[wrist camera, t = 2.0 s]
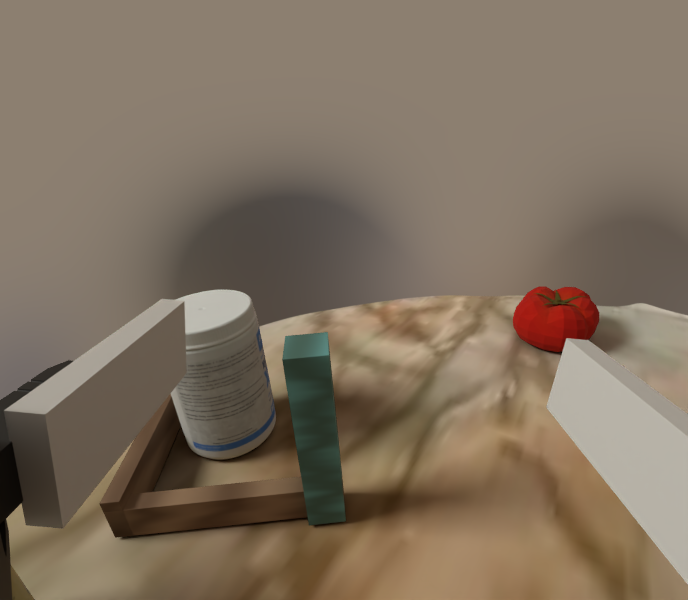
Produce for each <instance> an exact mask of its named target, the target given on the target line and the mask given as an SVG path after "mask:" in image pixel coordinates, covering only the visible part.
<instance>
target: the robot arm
mask: <svg viewBox="0 0 688 600" xmlns="http://www.w3.org/2000/svg"><path fill="white" fill-rule="evenodd" d="M186 373H187V369H186V335H185V301H178V300H167V299H161V300H160V301H158V302H157V303H156V304H154V305H153V306H151V307H150V308H148V309H147V310H146V311H144V312H143V313H141V314H140V315H138V316H137V317H136V318H134V319H133V320H132V321H130V322H129V323H127V324H126V325H124V326H123V327H121V328H120V329H119V330H118V331H116V332H114V333H113V334H112V335H110V336H109V337H108V338H106V339H104V340H103V341H102V342H100V343H99V344H97V345H96V346H95V347H93V348H92V349H90V350H89V351H88V352H86V353H85V354H83V355H82V356H80V357H79V358H78V359H76V360H75V361H66V362H63V363H61V364H58V365H56V366H53V367H51V368H48V369H46V370H45V371H43V372H42V373H40V374H39V375H37V376H36V377H34V378H33V379H31V382H27V383H25V384H24V385H22V386H21V387H19V388H18V390H17V391H14V392H12V393H11V394H9V395H8V396H6V397H4V398H3V399H1V400H0V600H12V582H11V564H10V547H9V531H8V526H7V521H6V518H7V517H8V516H9V515H10V514H11V513H12V512H13V511H14V510H15V509H16V508H17V507H18V506H19V505H20V504H21V503H22V507H23V512H24V517H25V523H26V525H30V526H42V527H53V528H64V527H65V525H66V524H67V523H68V522H69V520H70V519H71V518H72V517H73V515H74V514H75V513H76V512H77V510H78V509H79V508H80V507H81V505H82V504H83V503H84V502H85V500H86V499H87V498H88V497H89V495H90V494H91V493H92V492H93V490H94V489H95V488H96V486H97V485H98V484H99V483H100V481H101V480H102V479H103V478H104V476H105V475H106V474H107V473H108V471H109V470H110V469H111V468H112V466H113V465H114V464H115V463H116V461H117V460H118V459H119V458H120V456H121V455H122V454H123V453H124V451H125V450H126V449H127V447H128V446H129V445H130V444H131V442H132V441H133V440H134V439H135V437H136V436H137V435H138V434H139V432H140V431H141V430H142V429H143V427H144V426H145V425H146V424H147V422H148V421H149V420H150V419H151V417H152V416H153V415H154V414H155V412H156V411H157V410H158V408H159V407H160V406H161V405H162V403H163V402H164V401H165V400H166V398H167V397H168V396H169V395H170V393H171V392H172V391H173V390H174V388H175V387H176V386H177V385H178V383H179V382H180V381H181V380H182V378H183V377H184V376H185V375H186ZM547 409H548V410H549V411H550V413H551V414H552V415H553V416H554V418H555V419H556V420H557V421H558V423H559V424H560V425H561V426H562V428H563V429H564V430H565V431H566V433H567V434H568V435H569V436H570V438H571V439H572V440H573V441H574V443H575V444H576V445H577V446H578V448H579V449H580V450H581V451H582V453H583V454H584V455H585V456H586V458H587V459H588V460H589V461H590V463H591V464H592V465H593V466H594V468H595V469H596V470H597V471H598V473H599V474H600V475H601V476H602V478H603V479H604V480H605V481H606V483H607V484H608V485H609V486H610V488H611V489H612V490H613V491H614V493H615V494H616V495H617V496H618V498H619V499H620V500H621V501H622V503H623V504H624V505H625V507H626V508H627V509H628V510H629V512H630V513H631V514H632V515H633V517H634V518H635V519H636V520H637V522H638V523H639V524H640V525H641V527H642V528H643V529H644V530H645V532H646V533H647V534H648V535H649V537H650V538H651V539H652V540H653V542H654V543H655V544H656V545H657V547H658V548H659V549H660V550H661V552H662V553H663V554H664V555H665V557H666V558H667V559H668V560H669V562H670V563H671V564H672V565H673V567H674V568H675V569H676V570H677V572H678V573H679V574H680V575H681V577H682V578H683V579H684V580H685V582H686V583H687V584H688V414H687V413H686V412H684V411H683V410H681V409H680V408H679V407H677V406H676V405H675V404H673V403H672V402H671V401H669V400H668V399H667V398H665V397H664V396H663V395H661V394H660V393H659V392H657V391H656V390H655V389H653V388H652V387H651V386H649V385H648V384H647V383H645V382H644V381H643V380H641V379H640V378H639V377H637V376H636V375H635V374H633V373H632V372H630V371H629V370H628V369H626V368H625V367H624V366H622V365H621V364H620V363H618V362H617V361H616V360H614V359H613V358H612V357H610V356H609V355H608V354H606V353H605V352H604V351H602V350H601V349H600V348H598V347H597V346H596V345H594V344H593V343H592V342H590V341H589V340H581V339H571V338H566V342H565V345H564V348H563V352H562V355H561V359H560V362H559V366H558V369H557V372H556V376H555V379H554V383H553V386H552V390H551V393H550V396H549V400H548V403H547Z"/></svg>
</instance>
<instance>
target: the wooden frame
mask: <svg viewBox="0 0 688 600" xmlns="http://www.w3.org/2000/svg"><path fill="white" fill-rule="evenodd" d="M282 360H283V366H284V372H285V379H286V385H287V391H288V397H289V404H290V410H291V416H292V422H293V429H294V435H295V441H296V447H297V454H298V460H299V466H300V472H301V477H293V478H283V479H273V480H264V481H254V482H244V483H235V484H225V485H215V486H205V487H196V488H186V489H176V490H167V491H157V492H153V489H154V487H155V485H156V482H157V480H158V478H159V475H160V473H161V471H162V468H163V466H164V464H165V461H166V459H167V456H168V454H169V452H170V449H171V447H172V445H173V442H174V440H175V438H176V435H177V433H178V431H179V428H180V426H181V423H180V421H179V417H178V414H177V411H176V408H175V405H174V402H173V399H172V396H171V393H170V395H169V396H168V397H167V398H166V400H165V401H164V402H163V403H162V405H161V406H160V407H159V408H158V410H157V411H156V412H155V414H154V415H153V416H152V417H151V419H150V420H149V421H148V422H147V424H146V425H145V426H144V427H143V429H142V430H141V431H140V432H139V434H138V435H137V436H136V438H135V439H134V441H133V443H132V445H131V447H130V449H129V450H128V452H127V454H126V456H125V458H124V460H123V461H122V463H121V465H120V467H119V469H118V471H117V472H116V474H115V476H114V478H113V480H112V482H111V483H110V485H109V487H108V489H107V491H106V493H105V494H104V496H103V498H102V500H101V502H100V506H101V508H102V510H103V512H104V514H105V517H106V519H107V521H108V523H109V525H110V527H111V529H112V531H113V533H114V536H115V537H125V536H134V535H143V534H153V533H162V532H172V531H181V530H191V529H200V528H209V527H219V526H228V525H238V524H247V523H257V522H266V521H275V520H285V519H294V518H304V517H308V522H309V525H316V524H326V523H335V522H344V521H346V517H345V502H344V490H343V480H342V470H341V460H340V450H339V441H338V431H337V421H336V411H335V401H334V391H333V381H332V371H331V361H330V351H329V341H328V332H325V333H314V334H303V335H293V336H285V344H284V351H283V359H282Z"/></svg>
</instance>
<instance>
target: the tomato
mask: <svg viewBox="0 0 688 600" xmlns="http://www.w3.org/2000/svg"><path fill="white" fill-rule="evenodd" d="M598 322H599V311H598V309H597V307H596V305H595V304H594V303H593V302H592V301H591V299H590V297H589V295H588V294H586V293H585V292H584V291H582V290H580V289H577V288H575V287H564V288H561V289H558V290H555V291H552V290H551V289H549V288H547V287H537V288H535V289H533V290H531V291H530V292H528V293H527V294H526V296H525V297H524V298H523V300H522V301H521V302H520V303H519V305H518V306H517V307H516V310H515V313H514V317H513V326H514V329H515V330H516V332H517V334H518V335H519V337H520V338H521V339H522V340H524V341H526V342H527V343H529V344H531V345H533V346H536V347H538V348H540V349H543V350H547V351H554V352H560V351H563V348H564V345H565V342H566V338H571V339H581V340H589V339H590V337H591V336H592V335H593V334H594V332H595V330H596V327H597V325H598Z"/></svg>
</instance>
